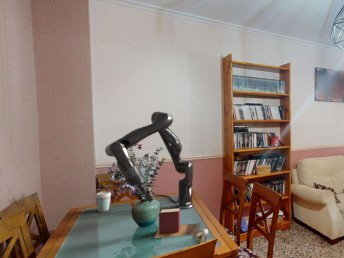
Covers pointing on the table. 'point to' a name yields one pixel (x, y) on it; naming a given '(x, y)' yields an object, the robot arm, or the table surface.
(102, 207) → the coffee cup
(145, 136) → the robot arm
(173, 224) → the book
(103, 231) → the table surface
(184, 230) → the mat
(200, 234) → the eagle figurine
